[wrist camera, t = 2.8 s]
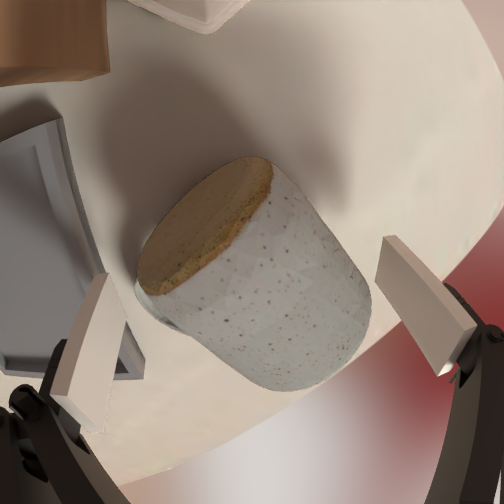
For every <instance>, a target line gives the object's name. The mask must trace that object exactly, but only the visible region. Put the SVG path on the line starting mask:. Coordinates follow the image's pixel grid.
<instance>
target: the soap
mask: <svg viewBox="0 0 504 504" xmlns="http://www.w3.org/2000/svg"><path fill="white" fill-rule="evenodd" d="M127 1H129V2H130V3H132V4H134V5H136V6H140V7H142V8H144V9H146V10H148V11H150V12H153V13H155V14H157V15H159V16H161V17H162V18H163V19H166V20H168V21H170V22H173V23H175V24H178V25H180V26H182V27H185V28H187V29H190V30H193V31H195V32H198V33H200V34H211V33H213V32H215V31H216V30H218V29H219V28H220V27H221V26H222V25H223V24H224V23H225V22H226V21H227V20H229V19H230V18H231V17H232V16H233V15H234V14H235V13H236V12H237V11H239V10H240V9H241V8H242V7H243V6H244V5H245V4H246V3H247V2H249V1H250V0H127Z"/></svg>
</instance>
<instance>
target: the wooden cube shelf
mask: <svg viewBox="0 0 504 504" xmlns="http://www.w3.org/2000/svg"><path fill="white" fill-rule="evenodd" d="M109 72H110V65H109V54H108V41H107V23H106V0H0V87H4V86H11V85H20V84H30V83H42V82H59V81H83V80H86V79H89V78H92V77H95V76H98V75H102V74H105V73H109Z"/></svg>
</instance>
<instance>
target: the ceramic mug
mask: <svg viewBox="0 0 504 504" xmlns="http://www.w3.org/2000/svg"><path fill="white" fill-rule="evenodd" d="M134 292H135V295H136V297H137V299H138V301H139V302H140V304H141V305H142V306H143V307H144V309H145V310H147V311H148V312H149V313H150V314H151V315H152V316H153V317H154V318H155V319H157V320H158V321H159V322H161V323H163V324H164V325H166V326H168V327H169V328H171V329H173V330H175V331H178V332H180V333H182V334H185V335H188V336H191V337H193V338H194V339H195V340H197V341H198V342H199V343H201V344H202V345H203V346H205V347H206V348H207V349H208V350H210V351H211V352H212V353H213V354H215V355H216V356H217V357H218V358H219V359H221V360H222V361H224V362H225V363H226V364H228V365H229V366H231V367H232V368H233V369H235V370H236V371H237V372H239V373H240V374H242V375H243V376H244V377H246V378H247V379H249V380H250V381H251V382H253V383H255V384H257V385H259V386H261V387H263V388H266V389H269V390H272V391H281V392H292V391H297V390H303V389H307V388H309V387H312V386H314V385H316V384H319V383H321V382H323V381H325V380H327V379H328V378H329V377H331V376H332V375H333V374H335V373H336V372H337V371H339V370H340V369H341V368H342V367H343V366H344V365H345V364H346V363H347V362H348V361H349V360H350V359H351V358H352V356H353V355H354V354H355V353H356V351H357V350H358V348H359V347H360V345H361V343H362V341H363V339H364V337H365V335H366V332H367V330H368V327H369V322H370V317H371V305H372V300H371V294H370V290H369V286H368V284H367V282H366V280H365V278H364V277H363V275H362V274H361V272H360V271H359V269H358V268H357V267H356V266H355V264H354V263H353V261H352V260H351V258H350V257H349V256H348V254H347V253H346V251H345V250H344V249H343V247H342V246H341V244H340V243H339V241H338V240H337V238H336V237H335V236H334V234H333V233H332V232H331V230H330V229H329V228H328V227H327V225H326V224H325V223H324V222H323V220H322V219H321V218H320V216H319V215H318V213H317V212H316V211H315V209H314V208H313V207H312V205H311V204H310V203H309V201H308V200H307V199H306V197H305V196H304V195H303V193H302V192H301V191H300V189H299V188H298V187H297V185H296V184H295V183H294V182H293V181H292V180H291V179H289V178H288V177H287V176H286V175H285V174H284V173H283V172H282V171H281V170H279V169H278V168H277V167H276V166H275V165H274V164H272V163H271V162H269V161H267V160H266V159H263V158H258V157H243V158H239V159H236V160H234V161H232V162H230V163H228V164H226V165H224V166H222V167H221V168H219V169H217V170H216V171H214V172H213V173H212V174H210V175H209V176H208V177H206V178H205V179H204V180H202V181H201V182H200V183H199V184H197V185H196V186H195V187H194V188H193V189H192V190H190V191H189V192H188V193H187V194H186V195H185V196H184V197H183V198H182V199H181V200H180V201H179V202H178V203H177V204H176V205H175V206H174V207H173V208H172V209H171V210H170V211H169V213H168V214H167V215H166V216H165V217H164V218H163V220H162V221H161V222H160V223H159V225H158V226H157V227H156V228H155V230H154V231H153V233H152V234H151V236H150V237H149V239H148V240H147V242H146V244H145V245H144V247H143V249H142V252H141V254H140V257H139V260H138V263H137V278H136V280H135V283H134Z"/></svg>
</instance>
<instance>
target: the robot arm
mask: <svg viewBox="0 0 504 504" xmlns="http://www.w3.org/2000/svg"><path fill="white" fill-rule="evenodd" d="M375 283H376V284H377V285H378V287H379V288H380V290H381V291H382V292H383V294H384V295H385V297H386V298H387V299H388V301H389V302H390V304H391V305H392V307H393V308H394V310H395V311H396V312H397V314H398V315H399V317H400V318H401V320H402V321H403V323H404V324H405V326H406V327H407V329H408V330H409V332H410V333H411V335H412V336H413V338H414V340H415V341H416V343H417V344H418V346H419V347H420V349H421V351H422V352H423V354H424V355H425V357H426V359H427V360H428V362H429V363H430V365H431V367H432V368H433V370H434V372H435V373H436V375H437V376H439V375H442V374H444V373H446V372H448V371H450V370H451V369H452V367H453V366H454V364H455V362H457V363H458V365H459V368H458V369H457V371H456V372H455V374H454V375H453V377H452V378H451V380H450V382H449V383H452V382H453V380H454V379H455V378H456V381H455V389H454V395H453V401H452V407H451V412H450V417H449V422H448V427H447V431H446V435H445V440H444V444H443V447H442V451H441V455H440V458H439V462H438V465H437V469H436V472H435V475H434V478H433V481H432V484H431V487H430V490H429V492H428V495H427V498H426V500H425V503H424V504H494V503H493V502H494V497H495V493H496V489H497V484H498V480H499V475H500V470H501V490H500V504H504V332H503V331H502V330H501V329H500V328H499V327H497V326H495V325H491V324H489V325H485V323H484V322H483V321H482V320H481V319H480V317H479V316H478V315H477V314H476V313H475V311H474V310H473V309H472V308H471V307H470V305H469V304H467V303H466V301H465V300H464V298H461V295H460V294H459V293H458V292H457V291H456V290H455V289H454V288H453V287H452V286H450V285H448V284H447V283H441V281H440V280H439V279H438V278H437V277H436V276H435V275H434V274H433V273H432V272H431V271H430V270H429V269H428V267H427V266H426V265H425V264H424V263H423V262H422V261H421V260H420V259H419V258H418V257H417V256H416V255H415V254H414V253H413V252H412V251H411V250H410V249H409V248H408V247H407V246H406V245H405V244H404V243H403V242H402V241H401V240H400V239H399V238H398V237H397V236H396V235H393V236H385V237H383V241H382V247H381V252H380V258H379V263H378V268H377V273H376V277H375ZM126 319H127V315H126V312H125V310H124V308H123V305H122V303H121V301H120V298H119V296H118V294H117V291H116V289H115V286H114V284H113V281H112V279H111V276H110V273H103V274H95V276H94V278H93V280H92V283H91V285H90V287H89V289H88V291H87V294H86V296H85V298H84V300H83V303H82V305H81V307H80V310H79V312H78V315H77V317H76V320H75V322H74V325H73V327H72V330H71V332H70V335H69V337H68V339H61V340H60V342H59V343H58V344H57V345H56V347H55V348H54V350H53V353H52V355H51V360H50V361H49V364H48V368H47V369H46V372H45V375H44V378H43V381H42V384H41V387H40V390H39V393H38V392H37V391H36V390H35V389H34V388H33V387H32V386H30V385H28V384H22V385H20V386H18V387H17V388H16V389H14V390H13V392H12V394H11V395H10V399H9V408H10V409H11V410H12V411H14V413H9V412H8V411H7V410H6V409H5V408H3V407H0V504H131V503H130V502H129V501H128V500H127V499H126V497H125V496H124V495H123V494H122V492H121V491H120V490H119V489H118V487H117V486H116V485H115V483H114V482H113V481H112V479H111V478H110V477H109V475H108V474H107V472H106V471H105V470H104V468H103V467H102V465H101V464H100V462H99V461H98V459H97V458H96V456H95V455H94V453H93V452H92V450H91V449H90V447H89V445H88V444H87V442H86V440H85V439H84V437H83V436H82V435H81V434H80V427H81V426H82V427H83V428H84V429H85V430H86V431H87V432H93V433H104V434H105V427H106V420H107V413H108V407H109V400H110V395H111V389H112V383H113V378H114V373H115V368H116V363H117V358H118V353H119V349H120V344H121V340H122V336H123V331H124V327H125V323H126Z"/></svg>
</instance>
